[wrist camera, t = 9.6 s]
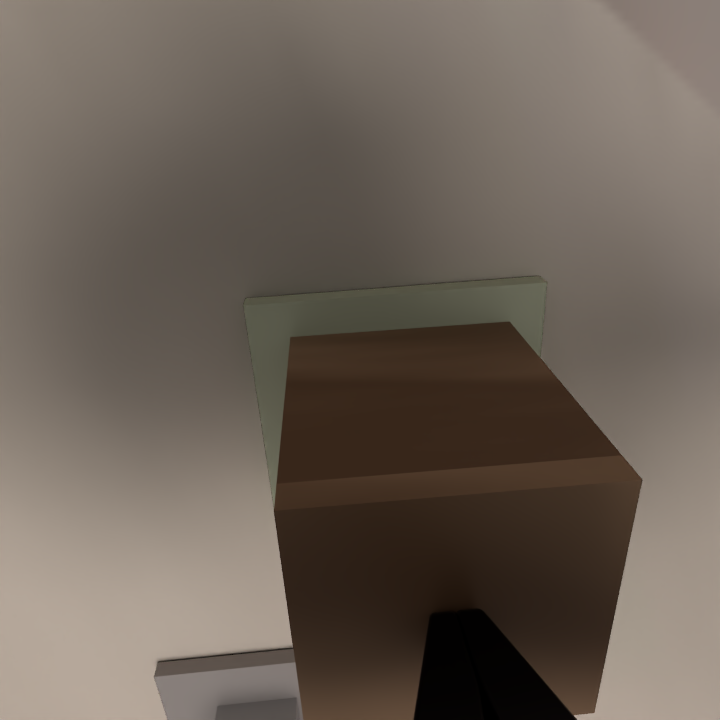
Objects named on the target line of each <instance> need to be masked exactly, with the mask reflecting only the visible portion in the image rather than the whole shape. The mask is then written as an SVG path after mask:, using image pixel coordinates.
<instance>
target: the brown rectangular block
mask: <svg viewBox="0 0 720 720" xmlns="http://www.w3.org/2000/svg"><path fill="white" fill-rule="evenodd" d="M641 484H642V479H641V478H640V476H639V475H638V474H637V473H636V472H635V470H634V469H633V468H632V467H631V466H630V465H629V463H628V462H627V461H626V460H625V459H624V457H623V456H622V455H621V454H620V453H619V451H618V450H617V449H616V448H615V447H614V445H613V444H612V443H611V442H610V441H609V439H608V438H607V437H606V436H605V435H604V433H603V432H602V431H601V430H600V429H599V428H598V426H597V425H596V424H595V423H594V422H593V420H592V419H591V418H590V417H589V416H588V414H587V413H586V412H585V411H584V410H583V408H582V407H581V406H580V405H579V404H578V402H577V401H576V400H575V399H574V398H573V396H572V395H571V394H570V393H569V392H568V391H567V389H566V388H565V387H564V386H563V385H562V383H561V382H560V381H559V380H558V379H557V377H556V376H555V375H554V374H553V373H552V371H551V370H550V369H549V368H548V367H547V365H546V364H545V363H544V362H543V361H542V359H541V358H540V357H539V356H538V355H537V354H536V352H535V351H534V350H533V349H532V348H531V346H530V345H529V344H528V343H527V342H526V340H525V339H524V338H523V337H522V336H521V334H520V333H519V332H518V331H517V330H516V328H515V327H514V326H513V325H512V324H511V322H510V321H509V322H495V323H481V324H466V325H452V326H438V327H424V328H410V329H396V330H382V331H368V332H354V333H340V334H325V335H311V336H297V337H290V346H289V356H288V367H287V377H286V388H285V398H284V409H283V420H282V430H281V441H280V451H279V462H278V473H277V483H276V494H275V504H274V515H275V522H276V530H277V537H278V544H279V551H280V558H281V565H282V572H283V579H284V586H285V593H286V600H287V608H288V615H289V622H290V629H291V636H292V643H293V650H294V657H295V664H296V671H297V678H298V686H299V693H300V700H301V707H302V714H303V720H413V718H414V712H415V705H416V699H417V693H418V686H419V680H420V673H421V667H422V660H423V654H424V647H425V641H426V635H427V628H428V622H429V617H430V615H431V614H432V613H435V612H445V611H453V612H455V614H456V613H457V611H459V610H465V609H475V608H479V609H482V610H483V611H484V612H485V613H486V614H487V615H488V616H489V617H490V618H491V620H492V621H493V622H494V623H495V624H496V625H497V627H498V628H499V629H500V630H501V631H502V632H503V634H504V635H505V636H506V637H507V638H508V639H509V641H510V642H511V643H512V644H513V645H514V646H515V648H516V649H517V650H518V651H519V652H520V653H521V655H522V656H523V657H524V658H525V659H526V660H527V662H528V663H529V664H530V665H531V666H532V667H533V669H534V670H535V671H536V672H537V673H538V675H539V676H540V677H541V678H542V679H543V680H544V682H545V683H546V684H547V685H548V686H549V687H550V689H551V690H552V691H553V692H554V693H555V694H556V696H557V697H558V698H559V699H560V700H561V701H562V703H563V704H564V705H565V706H566V707H567V708H568V710H569V711H570V712H571V713H572V714H573V715H578V714H588V713H594V712H595V707H596V702H597V697H598V693H599V688H600V683H601V678H602V673H603V668H604V663H605V658H606V654H607V649H608V644H609V639H610V634H611V629H612V624H613V620H614V615H615V610H616V605H617V600H618V595H619V590H620V586H621V581H622V576H623V571H624V566H625V561H626V556H627V552H628V547H629V542H630V537H631V532H632V527H633V522H634V518H635V513H636V508H637V503H638V498H639V493H640V488H641Z"/></svg>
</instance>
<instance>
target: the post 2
mask: <svg viewBox="0 0 720 720" xmlns="http://www.w3.org/2000/svg"><path fill="white" fill-rule="evenodd" d="M546 289H547V282H546V281H545V280H544V279H543V278H541V277H540V276H532V277H519V278H506V279H493V280H479V281H466V282H453V283H440V284H427V285H414V286H401V287H388V288H375V289H361V290H348V291H335V292H322V293H309V294H296V295H283V296H270V297H257V298H246V299H245V302H244V305H243V308H244V314H245V321H246V327H247V334H248V341H249V347H250V354H251V360H252V367H253V373H254V380H255V387H256V393H257V400H258V406H259V413H260V419H261V426H262V432H263V439H264V446H265V452H266V459H267V465H268V472H269V478H270V485H271V492H272V498H273V505H274V504H275V494H276V483H277V473H278V462H279V451H280V441H281V430H282V420H283V409H284V398H285V388H286V377H287V367H288V356H289V346H290V337H297V336H311V335H325V334H340V333H354V332H368V331H382V330H396V329H410V328H424V327H438V326H452V325H466V324H481V323H495V322H509V321H510V322H511V324H512V325H513V326H514V327H515V328H516V330H517V331H518V332H519V333H520V334H521V336H522V337H523V338H524V339H525V340H526V342H527V343H528V344H529V345H530V346H531V348H532V349H533V350H534V351H535V352H536V354H537V355H538V356H539V357H540V356H541V345H542V334H543V323H544V312H545V300H546Z"/></svg>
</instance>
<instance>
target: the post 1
mask: <svg viewBox="0 0 720 720" xmlns="http://www.w3.org/2000/svg"><path fill="white" fill-rule="evenodd" d="M154 679H155V682H156V685H157V688H158V691H159V695H160V698H161V701H162V704H163V707H164V710H165V713H166V716H167V720H303V714H302V707H301V700H300V693H299V686H298V678H297V671H296V664H295V657H294V650H293V649H286V650H276V651H266V652H256V653H246V654H237V655H227V656H217V657H207V658H197V659H188V660H178V661H168V662H158V664H157V667H156V671H155V675H154Z"/></svg>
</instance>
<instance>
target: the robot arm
mask: <svg viewBox="0 0 720 720" xmlns="http://www.w3.org/2000/svg"><path fill="white" fill-rule="evenodd" d="M413 720H577V719H576V718H575V717H574V715H573V714H572V713H571V712H570V711H569V710H568V708H567V707H566V706H565V705H564V704H563V703H562V701H561V700H560V699H559V698H558V697H557V696H556V694H555V693H554V692H553V691H552V690H551V689H550V687H549V686H548V685H547V684H546V683H545V682H544V680H543V679H542V678H541V677H540V676H539V675H538V673H537V672H536V671H535V670H534V669H533V667H532V666H531V665H530V664H529V663H528V662H527V660H526V659H525V658H524V657H523V656H522V655H521V653H520V652H519V651H518V650H517V649H516V648H515V646H514V645H513V644H512V643H511V642H510V641H509V639H508V638H507V637H506V636H505V635H504V634H503V632H502V631H501V630H500V629H499V628H498V627H497V625H496V624H495V623H494V622H493V621H492V620H491V618H490V617H489V616H488V615H487V614H486V613H485V612H484V611H483V610H482V609H479V608H475V609H465V610H459V611H457V613H456V614H455V612H453V611H445V612H435V613H432V614H431V615H430V617H429V622H428V628H427V635H426V641H425V647H424V654H423V660H422V667H421V673H420V680H419V686H418V693H417V699H416V705H415V712H414V718H413Z"/></svg>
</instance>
